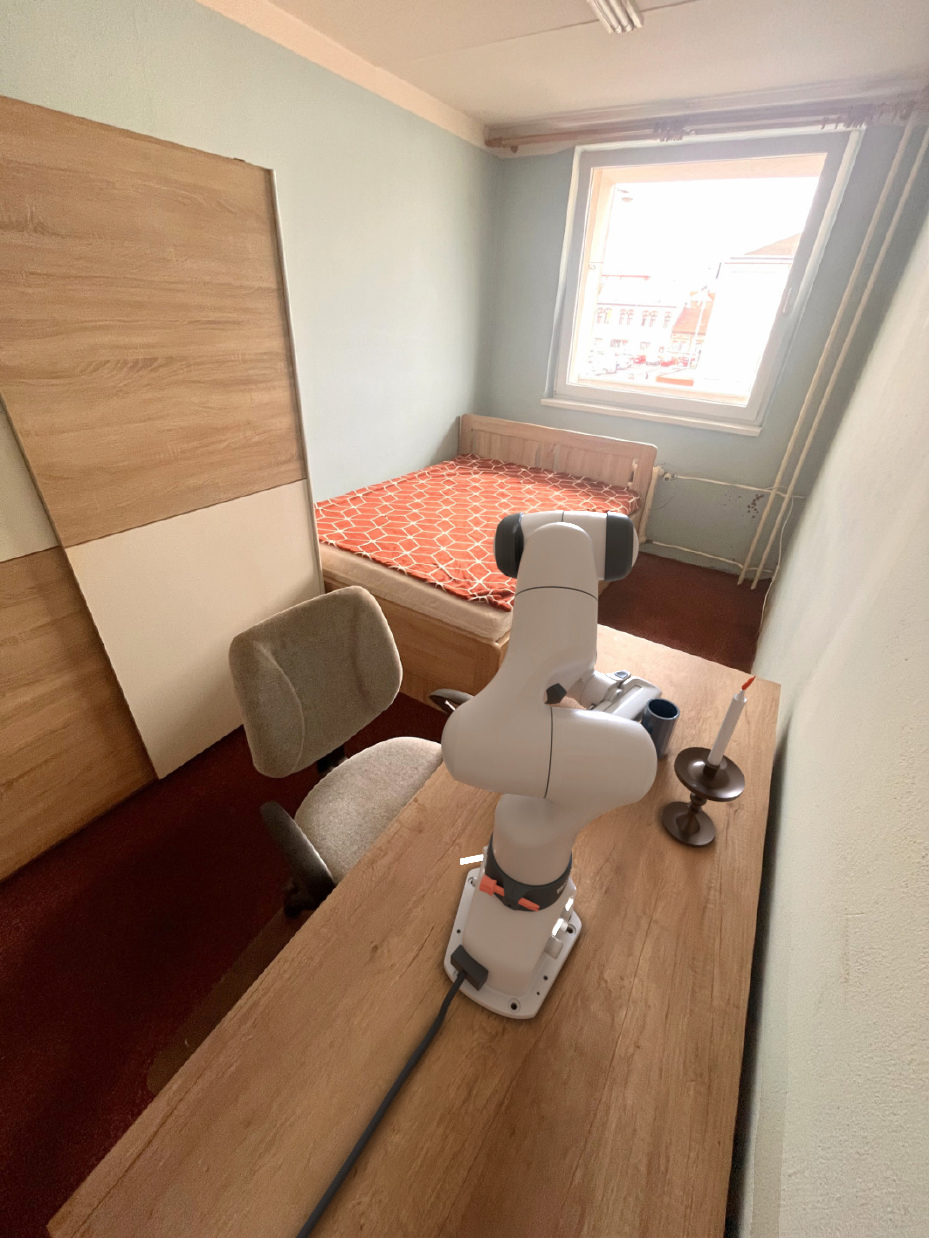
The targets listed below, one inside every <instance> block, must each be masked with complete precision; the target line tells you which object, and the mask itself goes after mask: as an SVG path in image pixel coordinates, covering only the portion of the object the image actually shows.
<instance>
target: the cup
mask: <svg viewBox="0 0 929 1238" xmlns="http://www.w3.org/2000/svg"><path fill="white" fill-rule="evenodd" d="M680 716H681V710H680V707H678V705H677V704H676V703H674V702H673V701H671V700H669V699H666V698H664V697H661V698H652V699H649V700H648V701H647V702H646V706H645V709H644V713H643V716H642V719H641V720H640V722H639V723H640V724H641V725H642V726H643V727H644V728H645V729H646V731H647V732H648V733H649V734H650V735H651V739H652V741H653V743H654V746H655V749H656V754H657V760H658V759H662V758H664V757H666V755H667V754H668V751H669V748H670V745H671V742H672V739H673V736H674V733H675V730H676V728H677V725H678V722H679V719H680Z"/></svg>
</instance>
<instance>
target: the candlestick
mask: <svg viewBox="0 0 929 1238" xmlns="http://www.w3.org/2000/svg"><path fill="white" fill-rule="evenodd" d="M755 679H756V675H753V677H749V678H748V680H747V681H745V682H744V683H743V684H742V685H741V689H740V691H739V692H738V693H734V694H733V695H732V698H731V700H730V702H729V705H728V708H727V710H726V712H725V715H724V717H723V720H722V721H721V725H720V728H719V729H718V732H717V735H716V737H715V740H714V742H713V744H712V747H711V748H708V747H702V746H692V747H691V746H690V747H687V748H684V749H681V750H680V751H679V752H678V754H677V755H676V756H675V760H674V762H673V763H674V764H673V770H674V773H675V776H676V778H677V779H678V781H679V782H680V783H681V784H682V785H683V787H684V788H685V789H687V790H688V791H689V792H690V794H689V799H690V801H688V802H687V801H678V800H677V801H673V802H670V803H668V804H666V805H665V806H664V807H663V809H662V812H661V814H660V815H661V816H660V820H661V825H662V828H663V829H664V831H665V833H666V834H667V835H668V836H669V837H670V838H671V839H672V840H674V841H676V842H677V843H679V844H680V845H682V846H684V847H686V848H687V847H688V848H691V849H692V848H693V849H701V848H705V847H708V846H709V845H710V844H711V843H712V842H713V840H714V838H715V836H716V828H715V827H716V826H715V824H714V822H713V820H712V819H711V817H710V816H709V815H708V813H706V812H705V811H704V810H703V808H702V807H703V806H705V805H707V802H708V801H711V802H714V803H715V802H716V803H727V802H729V803H730V802H732V801H735V800H736V799H738V798H739V797H740V796H741V795H742V794H743V791H744V789H745V786H746V779H745V776H744V773H743V771H742V770H741V769H740V767H739V766H738V765H737V764H736V763H735V762H734V761H733V760H732V759H731V758H729V757H728V756H727V755H725V752H726V750H727V747H728V745H729V743H730V740H731V738H732V736H733V734H734V732H735V729H736V727H737V725H738V722H739V719H740V717H741V715H742V712H743V710H744V708H745V705H746V704H747V701H748V699H747V697H746V695H745V693H746V690H747V689H748V688H749V687H750V686H751V684H753V682H754V681H755Z"/></svg>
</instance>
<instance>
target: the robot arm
mask: <svg viewBox="0 0 929 1238" xmlns="http://www.w3.org/2000/svg"><path fill="white" fill-rule="evenodd" d="M639 549H640V543H639V537H638V533H637V530H636V528H635V526H634V521H633V520H632V519H630V517H629V516H628V515H626V514H623V513H619V512H615V511H614V512H613V511H607V512H606V513H602V512H595V511H594V512H592V511H579V510H578V511H577V510H575V511H574V510H564V509H561V510H559V509H558V510H546V511H545V510H544V511H536V512H529V513H524V512H523V511H522V512H517V513H512V514H508V515H505V516H504V517H503V518H502V519H501V520H500V521H499V522H498V523H497V525H496V529H495V533H494V536H493V541H492V553H493V558H494V561H495V564H496V567H497V570H499V572H500V573H502V574H503V575H504V576H505V577H507V578H511V579H515V580H516V581H515V588H514V598H513V606H512V607H513V608H512V619H511V624H510V625H511V626H510V632H509V638H508V644H507V647H506V651H505V655H504V657H503V660H502V662H501V665H500V667H499V668H498V670H497V671H496V673H495V675H494V676H493V677H492V679H491V680H490V681H489V682H488V684H486V686H485V687H484V688H483V689H482V690H481V691H479V692H478V693H477V694H476V695H474V696H472V697H471V698H470V699H468V700H466V701H464V702H463V703H461V704H460V705H459V706H457V708H456V709H454V710H453V712H452V713H451V714H450V716H449V717H448V718H447V720H446V723H445V725H444V727H443V730H442V734H441V739H440V750H441V755H442V760H443V763H444V766H445V768H446V770H447V772H448V773H449V775H450V776H451V778H452V779H453V780H454V781H456V782H459V783H462V784H464V785H466V786H470V787H473V788H475V789H480V790H482V791H485V792H488V793H496V794H502V795H501V797H500V798H499V799H498V802H497V803H496V807H495V810H494V819H493V830H492V832H491V834H490V838H489V840H488V844H486V846H483V848H482V854H478V855H474V856H468V857H465V858H464V857H463V858H460V863H459V864H460V865H464V864H465V865H466V864H469V863H475V862H480V861H481V863H480V867H476V868H472V869H470V870H469V871H468V873H467V875H466V879H465V883H464V886H463V890H462V894H461V896H460V897H461V898H460V900H459V904H458V908H457V912H456V916H455V919H454V923H453V926H452V930H451V933H450V937H449V940H448V944H447V947H446V952H445V955H444V959H443V969H444V971H445V974H446V975H447V976H448V978H449V979H450V981H451V983H453V984H452V985H451V986H450V988H449V990H448V991H447V994H446V995H445V997H444V999H443V1001H442V1003H441V1006H440V1008H439V1011H438V1013H437V1015H436V1017H435V1019H434V1021H433V1022H432V1025H431V1026H430V1028H429V1029H428V1030H427V1033H426V1034H425V1035H424V1037H423V1039H422V1040H421V1041H420V1043H419V1045H418V1046H417V1047H416V1049H415V1050H414V1052H413V1054H412V1055H411V1056H410V1057H409V1059H408V1061H407V1062H406V1063H405V1065H404V1066H403V1068H402V1069H401V1071H400V1073H399V1074H398V1076H397V1078H396V1079H395V1080H394V1082H393V1084H392V1085H391V1087H390V1089H389V1090H388V1092H387V1094H386V1095H385V1097H384V1098H383V1100H382V1102H381V1103H380V1105H379V1106H378V1108H377V1110H376V1111H375V1113H374V1114H373V1116H372V1118H371V1120H370V1122H369V1123H368V1124H367V1126H366V1128H365V1129H364V1131H363V1132H362V1134H361V1135H360V1137H359V1138H358V1140H357V1142H356V1144H355V1145H354V1147H353V1148H352V1150H351V1151H350V1153H349V1154H348V1156H347V1158H346V1159H345V1161H344V1162H343V1164H342V1166H341V1167H340V1169H339V1170H338V1172H337V1174H336V1175H335V1177H334V1178H333V1180H332V1182H331V1183H330V1184H329V1186H328V1188H327V1189H326V1190H325V1192H324V1194H323V1195H322V1197H321V1199H320V1200H319V1201H318V1203H317V1204H316V1206H315V1208H314V1209H313V1211H312V1212H311V1214H310V1215H309V1217H308V1218H307V1220H306V1221H305V1223H304V1224H303V1226H302V1227H301V1229H300V1230H299V1231H298V1233H297V1235H296V1236H295V1238H309V1237H310V1235H311V1233H312V1232H313V1230H314V1229H315V1227H316V1226H317V1225H318V1222H319V1221H320V1219H322V1218H321V1217H323V1215H324V1213H325V1212H326V1210H327V1208H328V1207H329V1205H330V1203H332V1201H333V1199H334V1198H335V1196H336V1194H337V1193H338V1191H339V1189H340V1188H341V1186H342V1185H343V1183H344V1181H345V1180H346V1178H347V1177H348V1176H349V1173H350V1172H351V1170H352V1169H353V1168H354V1166H355V1165H356V1162H357V1161H358V1159H359V1157H360V1156H361V1154H362V1153H363V1151H364V1149H365V1148H366V1146H367V1145H368V1143H369V1141H370V1140H371V1138H372V1137H373V1135H374V1133H375V1131H376V1130H377V1128H378V1127H379V1125H380V1123H381V1122H382V1120H383V1118H384V1117H385V1115H386V1113H387V1111H388V1110H389V1108H390V1107H391V1105H392V1103H393V1101H394V1100H395V1098H396V1096H397V1095H398V1093H399V1091H400V1090H401V1088H402V1087H403V1086H404V1083H405V1082H406V1081H407V1079H408V1077H409V1075H410V1074H411V1072H412V1070H413V1069H414V1067H415V1066H416V1065H417V1063H418V1062H419V1060H420V1059H421V1058H422V1056H423V1054H424V1053H425V1051H426V1050H427V1048H428V1047H429V1046H430V1045H431V1042H432V1041H433V1039H434V1038H435V1036H436V1034H437V1033H438V1031H439V1029H440V1027H441V1025H442V1023H443V1022H444V1020H445V1017H446V1015H447V1012H448V1010H449V1007H450V1005H451V1003H452V1002H453V999H454V998H455V996H456V994H457V992H458V991H460V992H461V993H462V994H464V995H465V996H467V998H469V999H470V1000H472V1001H473V1002H475V1003H477V1004H478V1005H480V1006H481V1007H483V1008H485V1009H487V1010H489V1011H490V1012H493V1013H495V1014H497V1015H500V1016H503V1017H506V1018H510V1019H515V1020H528V1019H533V1018H534V1017H536V1015H537V1014H538V1013H539V1010H540V1008H541V1007H542V1005H543V1003H544V1001H545V999H546V997H547V996H548V994H549V992H550V990H551V988H552V987H553V984H554V983H555V981H556V980H557V978H558V975H559V973H560V971H561V969H562V968H563V966H564V964H565V962H566V960H567V959H568V956H569V955H570V953H571V951H572V949H573V948H574V946H575V944H576V941H577V940H578V938H579V936H580V934H581V933H582V927H583V926H582V925H583V924H582V922H581V919H580V918H579V916H578V914H577V913H576V912H575V910H574V906H575V900H576V896H577V892H578V889H577V887H576V885H575V883H574V881H573V879H572V876H571V873H572V868H573V849H574V845H575V842H576V840H577V837H578V835H579V834H580V832H582V831H583V829H584V828H586V827H587V826H588V825H589V824H592V822H593V821H595V820H596V819H598V818H599V817H601V816H603V815H604V814H606V813H609V812H611V811H613V810H616V809H618V808H621V807H625V806H627V805H631V804H636V803H638V802H640V801H641V800H642V799H643V798H644V797H645V796H646V795H647V794H648V793H649V791H650V790H651V788H652V787H653V784H654V782H655V781H656V776H657V772H658V759H657V754H656V749H655V746H654V743H653V741H652V739H651V735H650V734H649V733H648V732H647V731H646V729H645V728H644V727H643V726H642V725H641V724H640V723H641V720H642V716H643V713H644V709H645V706H646V702H647V701H648V700H649V699H652V698H662V696H663V692H662V689H661V688H660V687H659V686H657V685H655V684H654V683H652V682H650V681H648V680H646V679H644V678H642V677H639V676H632V672H631V671H628V670H626V669H622V670H621V669H620V670H618V671H615V672H610V673H605V674H604V673H603V672H601V671H597V670H596V668H595V665H596V664H597V659H598V650H597V649H598V648H597V646H598V645H597V644H598V620H599V619H598V618H599V617H598V615H599V582H600V581H604V582H605V583H608V582H615V581H619V580H623V579H625V578H627V576H628V575H629V574H630V573H631V572H632V569H633V566H635V563H636V561H637V558H638V555H639ZM565 697H566V698H569V699H573V700H574V701H576V702H577V704H578V705H579V706H580V707H583V708H584V709H582V708H571V707H563V706H562V707H560V706H551V705H555V704H556V705H557V704H560V703H561V702H562V701H563V700H564V698H565ZM569 931H571V933H570V932H569ZM512 1006H515V1007H516V1009H513V1008H512Z"/></svg>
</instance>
